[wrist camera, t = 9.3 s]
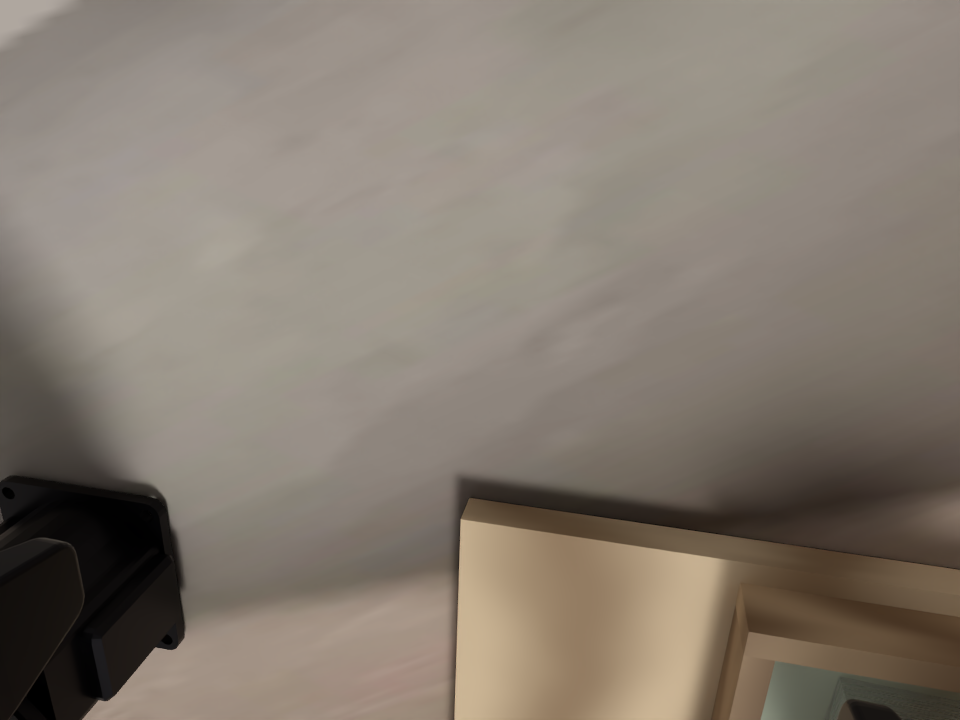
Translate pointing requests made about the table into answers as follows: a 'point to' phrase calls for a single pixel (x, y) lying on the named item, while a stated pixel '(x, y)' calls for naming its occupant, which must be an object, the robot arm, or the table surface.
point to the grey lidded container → (893, 701)
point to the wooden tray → (683, 622)
